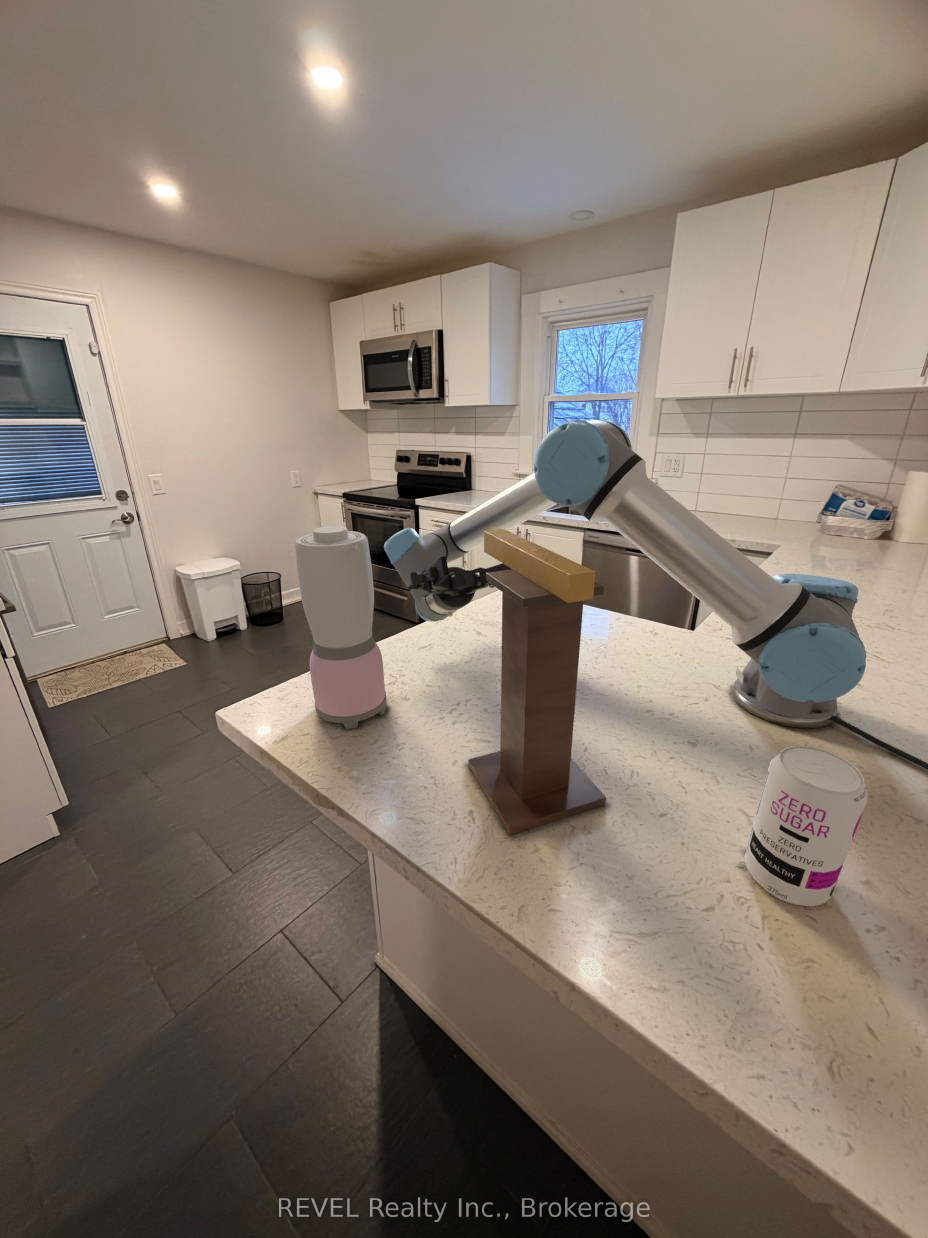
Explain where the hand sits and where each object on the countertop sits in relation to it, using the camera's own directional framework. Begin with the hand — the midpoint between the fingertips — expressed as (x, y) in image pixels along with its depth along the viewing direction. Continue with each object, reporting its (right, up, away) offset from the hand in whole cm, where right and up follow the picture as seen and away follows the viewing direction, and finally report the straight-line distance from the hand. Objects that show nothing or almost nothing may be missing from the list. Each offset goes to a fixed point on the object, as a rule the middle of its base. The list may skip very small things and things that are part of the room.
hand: (489, 560), depth 71 cm
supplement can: (+32, -37, -17) cm, 52 cm away
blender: (-25, -24, +17) cm, 39 cm away
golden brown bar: (+4, -3, -11) cm, 12 cm away
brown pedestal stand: (+6, -32, -2) cm, 32 cm away
